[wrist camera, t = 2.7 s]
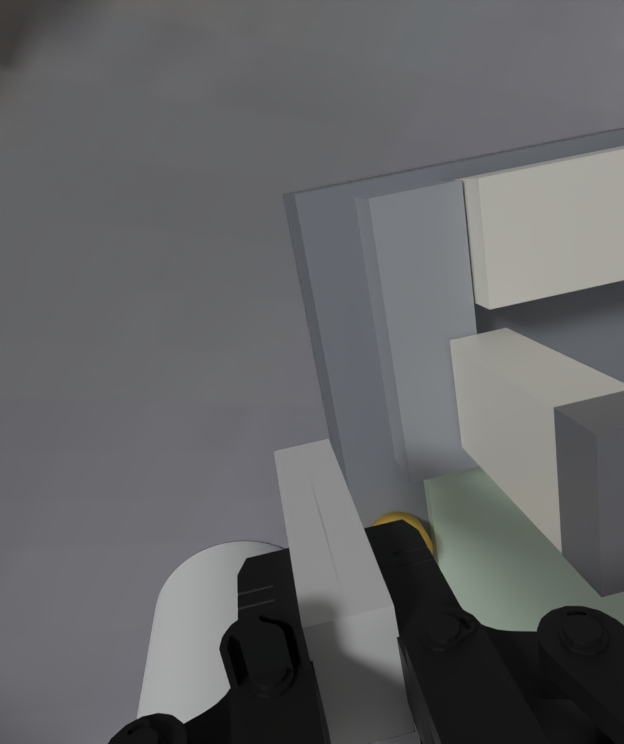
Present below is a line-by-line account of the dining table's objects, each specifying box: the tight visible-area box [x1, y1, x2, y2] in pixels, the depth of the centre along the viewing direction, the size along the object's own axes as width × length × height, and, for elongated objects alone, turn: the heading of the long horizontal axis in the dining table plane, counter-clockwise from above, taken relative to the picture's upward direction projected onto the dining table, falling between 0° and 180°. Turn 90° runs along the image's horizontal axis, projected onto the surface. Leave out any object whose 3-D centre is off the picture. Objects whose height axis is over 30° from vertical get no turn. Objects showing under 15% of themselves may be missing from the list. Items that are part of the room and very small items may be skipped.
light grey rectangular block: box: [450, 328, 624, 597], centre depth 16 cm, size 2×4×8 cm, turn 11°
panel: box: [283, 128, 624, 631], centre depth 24 cm, size 14×22×7 cm, turn 11°
